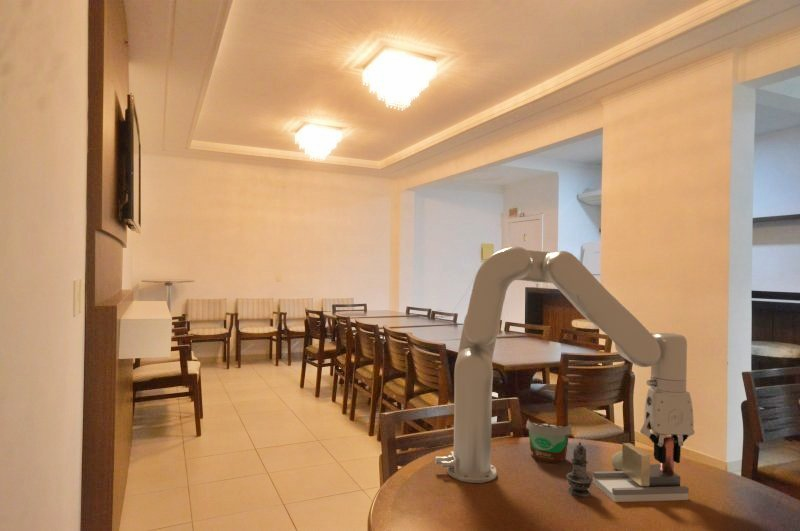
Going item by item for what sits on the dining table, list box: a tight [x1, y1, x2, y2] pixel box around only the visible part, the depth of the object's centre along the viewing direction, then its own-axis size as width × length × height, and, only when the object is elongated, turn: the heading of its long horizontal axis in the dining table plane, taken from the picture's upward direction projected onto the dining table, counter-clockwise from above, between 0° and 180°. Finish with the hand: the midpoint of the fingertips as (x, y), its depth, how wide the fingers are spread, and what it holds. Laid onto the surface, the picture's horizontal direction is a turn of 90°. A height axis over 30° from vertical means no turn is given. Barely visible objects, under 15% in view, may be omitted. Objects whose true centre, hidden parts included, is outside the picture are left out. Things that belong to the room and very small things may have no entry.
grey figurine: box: [565, 441, 593, 499], centre depth 115 cm, size 6×6×12 cm
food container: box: [525, 418, 573, 465], centre depth 134 cm, size 12×6×10 cm, turn 68°
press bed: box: [592, 470, 690, 503], centre depth 116 cm, size 18×10×3 cm, turn 96°
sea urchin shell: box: [611, 449, 622, 471], centre depth 129 cm, size 9×8×8 cm
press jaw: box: [621, 435, 681, 487], centre depth 117 cm, size 10×8×11 cm
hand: (666, 460), depth 117 cm, fingers closed on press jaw, 3 cm apart
